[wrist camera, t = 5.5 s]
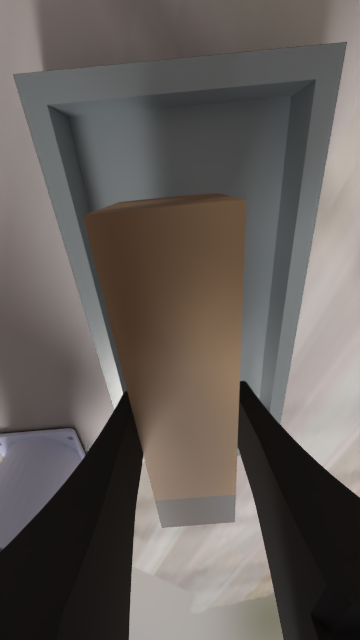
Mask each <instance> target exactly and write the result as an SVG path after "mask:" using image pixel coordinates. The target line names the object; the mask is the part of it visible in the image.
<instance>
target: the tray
mask: <svg viewBox="0 0 360 640" xmlns="http://www.w3.org/2000/svg"><path fill="white" fill-rule="evenodd" d="M346 44H347V42H341V43H331V44H320V45H310V46H300V47H289V48H279V49H269V50H258V51H248V52H238V53H228V54H217V55H207V56H197V57H186V58H176V59H166V60H155V61H145V62H135V63H124V64H114V65H104V66H94V67H83V68H73V69H63V70H52V71H42V72H32V73H21V74H13V76H14V79H15V83H16V86H17V89H18V93H19V96H20V99H21V103H22V106H23V109H24V113H25V116H26V119H27V123H28V126H29V129H30V132H31V136H32V139H33V142H34V146H35V149H36V152H37V156H38V159H39V162H40V166H41V169H42V172H43V176H44V179H45V182H46V186H47V189H48V192H49V195H50V199H51V202H52V205H53V209H54V212H55V215H56V219H57V222H58V225H59V229H60V232H61V235H62V239H63V242H64V245H65V248H66V252H67V255H68V258H69V262H70V265H71V268H72V272H73V275H74V278H75V282H76V285H77V288H78V292H79V295H80V298H81V301H82V305H83V308H84V311H85V315H86V318H87V321H88V325H89V328H90V331H91V335H92V338H93V341H94V345H95V348H96V351H97V355H98V358H99V361H100V364H101V368H102V371H103V374H104V378H105V381H106V384H107V388H108V391H109V394H110V398H111V401H112V404H113V408H114V410H115V408H116V406H117V404H118V402H119V401H120V399H121V397H122V395H123V393H124V392H125V391H127V388H126V384H125V380H124V376H123V372H122V368H121V364H120V360H119V356H118V352H117V348H116V344H115V340H114V337H113V333H112V329H111V325H110V321H109V317H108V313H107V309H106V305H105V301H104V297H103V293H102V289H101V285H100V281H99V277H98V273H97V269H96V266H95V262H94V258H93V254H92V250H91V246H90V242H89V238H88V234H87V230H86V226H85V222H84V218H83V215H85V214H88V213H91V212H93V211H96V210H99V209H102V208H104V207H107V206H110V205H113V204H115V203H118V202H124V201H134V200H144V199H154V198H165V197H175V196H185V195H195V194H205V193H219V194H224V195H228V196H233V197H238V198H242V199H246V225H245V253H244V280H243V308H242V335H241V362H240V381H246V382H247V383H248V385H249V386H250V388H251V389H252V390H253V392H254V393H255V394H256V396H257V397H258V398H259V400H260V401H261V402H262V404H263V405H264V406H265V407H266V409H267V410H268V411H269V412H270V413H271V415H272V416H273V417H274V418H275V419H276V420H277V422H278V423H279V424H280V422H281V416H282V410H283V405H284V399H285V393H286V387H287V382H288V376H289V370H290V365H291V359H292V353H293V347H294V342H295V336H296V330H297V324H298V319H299V313H300V307H301V302H302V296H303V290H304V284H305V279H306V273H307V267H308V262H309V256H310V250H311V244H312V239H313V233H314V227H315V222H316V216H317V210H318V204H319V199H320V193H321V187H322V182H323V176H324V170H325V164H326V159H327V153H328V147H329V142H330V136H331V130H332V124H333V119H334V113H335V107H336V102H337V96H338V90H339V84H340V79H341V73H342V67H343V62H344V56H345V50H346ZM237 455H240V452H239V448H238V445H237ZM142 463H145V459H144V455H143V461H142Z"/></svg>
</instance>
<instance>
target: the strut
mask: <svg viewBox="0 0 360 640" xmlns="http://www.w3.org/2000/svg"><path fill="white" fill-rule="evenodd" d="M83 218H84V222H85V226H86V230H87V234H88V238H89V242H90V246H91V250H92V254H93V258H94V262H95V266H96V269H97V273H98V277H99V281H100V285H101V289H102V293H103V297H104V301H105V305H106V309H107V313H108V317H109V321H110V325H111V329H112V333H113V337H114V340H115V344H116V348H117V352H118V356H119V360H120V364H121V368H122V372H123V376H124V380H125V384H126V388H127V392H128V396H129V400H130V404H131V408H132V412H133V415H134V419H135V423H136V427H137V431H138V435H139V439H140V443H141V447H142V451H143V455H144V459H145V463H146V467H147V471H148V475H149V479H150V483H151V486H152V490H153V494H154V498H155V502H156V506H157V510H158V514H159V518H160V522H161V526H162V528H165V527H178V526H191V525H203V524H216V523H229V522H235V499H236V472H237V445H238V417H239V390H240V362H241V335H242V308H243V280H244V253H245V225H246V199H242V198H238V197H233V196H228V195H224V194H219V193H205V194H195V195H185V196H175V197H165V198H154V199H144V200H134V201H124V202H118V203H115V204H113V205H110V206H107V207H104V208H102V209H99V210H96V211H93V212H91V213H88V214H85V215H83Z"/></svg>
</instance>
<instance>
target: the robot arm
mask: <svg viewBox="0 0 360 640" xmlns="http://www.w3.org/2000/svg"><path fill="white" fill-rule="evenodd" d="M238 448H239V452H240V455H241V458H242V461H243V464H244V468H245V471H246V474H247V477H248V480H249V483H250V487H251V490H252V493H253V497H254V501H255V505H256V509H257V513H258V518H259V522H260V527H261V531H262V536H263V540H264V545H265V550H266V554H267V559H268V564H269V568H270V573H271V578H272V583H273V588H274V593H275V597H276V602H277V607H278V613H279V618H280V623H281V628H282V633H283V638H284V640H360V498H359V497H358V496H357V495H356V494H354V493H353V492H352V491H351V490H349V489H348V488H347V487H346V486H345V485H343V484H342V483H341V482H340V481H338V480H337V479H336V478H335V477H334V476H332V475H331V474H330V473H329V472H328V471H327V470H326V469H324V468H323V467H322V466H321V465H320V464H319V463H318V462H317V461H316V460H314V459H313V458H312V457H311V456H310V455H309V454H308V453H307V452H306V451H305V450H304V449H303V448H302V447H301V446H300V445H299V444H298V443H297V442H296V441H295V440H294V439H293V438H292V437H291V436H290V435H289V434H288V433H287V432H286V431H285V429H284V428H283V427H282V426H281V425H280V424H279V423H278V422H277V420H276V419H275V418H274V417H273V416H272V415H271V413H270V412H269V411H268V410H267V409H266V407H265V406H264V405H263V404H262V402H261V401H260V400H259V398H258V397H257V396H256V394H255V393H254V392H253V390H252V389H251V388H250V386H249V385H248V383H247V382H246V381H240V390H239V417H238ZM0 454H1V455H2V456H3V459H2V461H1V463H0V640H129V614H130V592H131V571H132V554H133V537H134V523H135V510H136V501H137V494H138V488H139V481H140V475H141V468H142V461H143V451H142V447H141V443H140V439H139V435H138V431H137V427H136V423H135V419H134V415H133V412H132V408H131V404H130V400H129V396H128V392H127V391H125V392H124V393H123V395H122V397H121V399H120V401H119V402H118V404H117V406H116V408H115V410H114V412H113V413H112V415H111V417H110V418H109V420H108V422H107V423H106V425H105V427H104V428H103V430H102V431H101V433H100V435H99V436H98V438H97V439H96V441H95V442H94V444H93V445H92V447H91V448H90V449H89V451H88V452H87V454H86V455H85V452H84V450H83V448H82V446H81V443H80V441H79V439H78V437H77V434H76V432H75V430H74V429H71V428H66V429H54V430H42V431H30V432H17V433H5V434H0Z"/></svg>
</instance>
